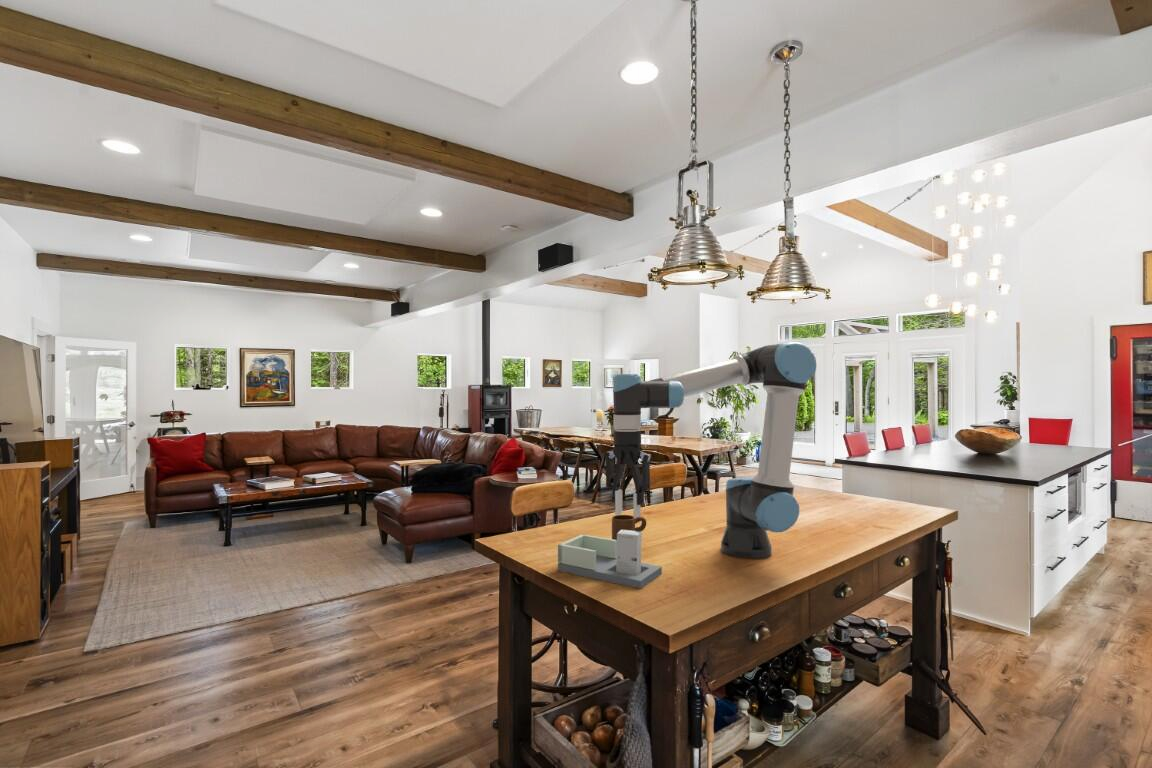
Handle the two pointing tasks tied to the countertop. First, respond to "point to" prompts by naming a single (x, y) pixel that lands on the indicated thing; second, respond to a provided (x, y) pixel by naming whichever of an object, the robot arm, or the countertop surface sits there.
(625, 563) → the skincare box
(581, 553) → the housing
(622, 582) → the board
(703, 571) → the countertop surface
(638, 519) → the mug
